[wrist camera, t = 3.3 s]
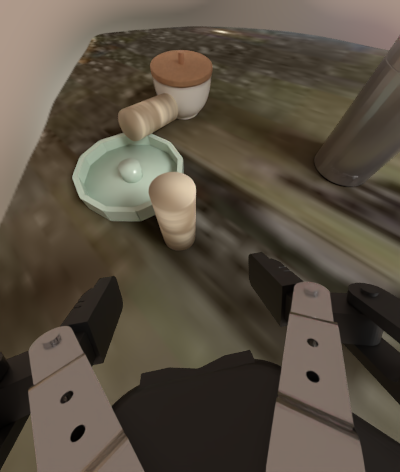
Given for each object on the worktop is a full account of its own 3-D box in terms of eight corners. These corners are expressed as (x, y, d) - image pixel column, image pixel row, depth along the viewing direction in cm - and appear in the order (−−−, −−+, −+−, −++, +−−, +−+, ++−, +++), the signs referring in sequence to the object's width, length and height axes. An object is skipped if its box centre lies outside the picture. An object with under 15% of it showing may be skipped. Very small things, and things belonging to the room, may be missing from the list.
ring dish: (127, 134, 36) (122, 119, 33) (200, 167, 33) (201, 153, 30) (60, 192, 29) (48, 179, 27) (143, 239, 26) (138, 230, 24)
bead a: (175, 217, 28) (166, 165, 19) (200, 231, 27) (204, 183, 18) (157, 241, 26) (138, 195, 17) (184, 256, 25) (179, 217, 16)
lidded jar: (151, 101, 41) (140, 42, 32) (197, 92, 43) (198, 34, 34) (167, 132, 36) (159, 73, 28) (217, 120, 38) (224, 61, 30)
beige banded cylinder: (143, 145, 30) (177, 124, 36) (139, 114, 26) (178, 97, 32) (121, 135, 31) (158, 117, 36) (115, 104, 27) (157, 89, 33)
